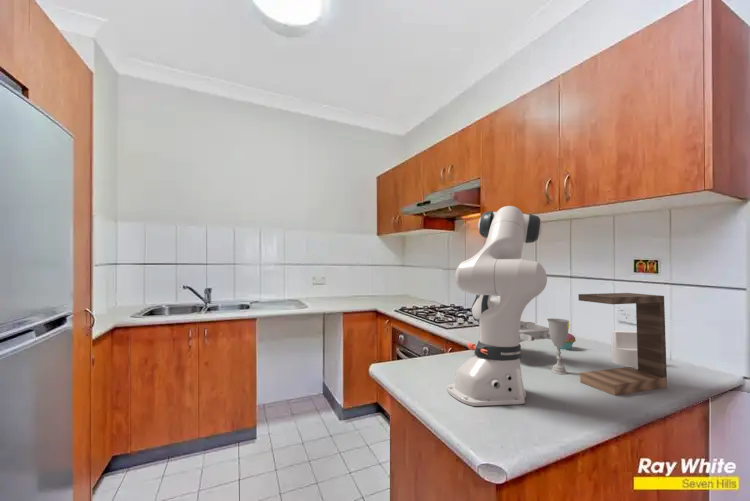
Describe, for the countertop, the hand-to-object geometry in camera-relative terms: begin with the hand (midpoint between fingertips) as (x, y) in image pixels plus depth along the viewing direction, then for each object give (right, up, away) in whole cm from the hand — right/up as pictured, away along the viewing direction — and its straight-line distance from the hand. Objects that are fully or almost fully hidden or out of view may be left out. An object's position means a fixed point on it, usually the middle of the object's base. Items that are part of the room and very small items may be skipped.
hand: (542, 338), depth 122 cm
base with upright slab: (+34, -11, +4) cm, 36 cm away
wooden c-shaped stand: (+15, -10, -19) cm, 26 cm away
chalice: (+2, -10, -7) cm, 13 cm away
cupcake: (+23, -12, +26) cm, 37 cm away
